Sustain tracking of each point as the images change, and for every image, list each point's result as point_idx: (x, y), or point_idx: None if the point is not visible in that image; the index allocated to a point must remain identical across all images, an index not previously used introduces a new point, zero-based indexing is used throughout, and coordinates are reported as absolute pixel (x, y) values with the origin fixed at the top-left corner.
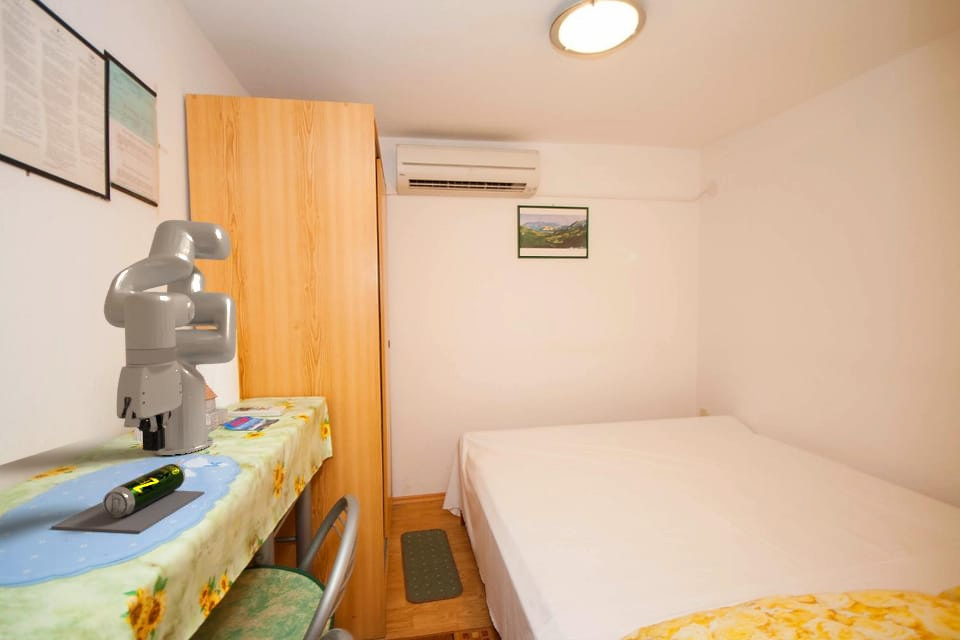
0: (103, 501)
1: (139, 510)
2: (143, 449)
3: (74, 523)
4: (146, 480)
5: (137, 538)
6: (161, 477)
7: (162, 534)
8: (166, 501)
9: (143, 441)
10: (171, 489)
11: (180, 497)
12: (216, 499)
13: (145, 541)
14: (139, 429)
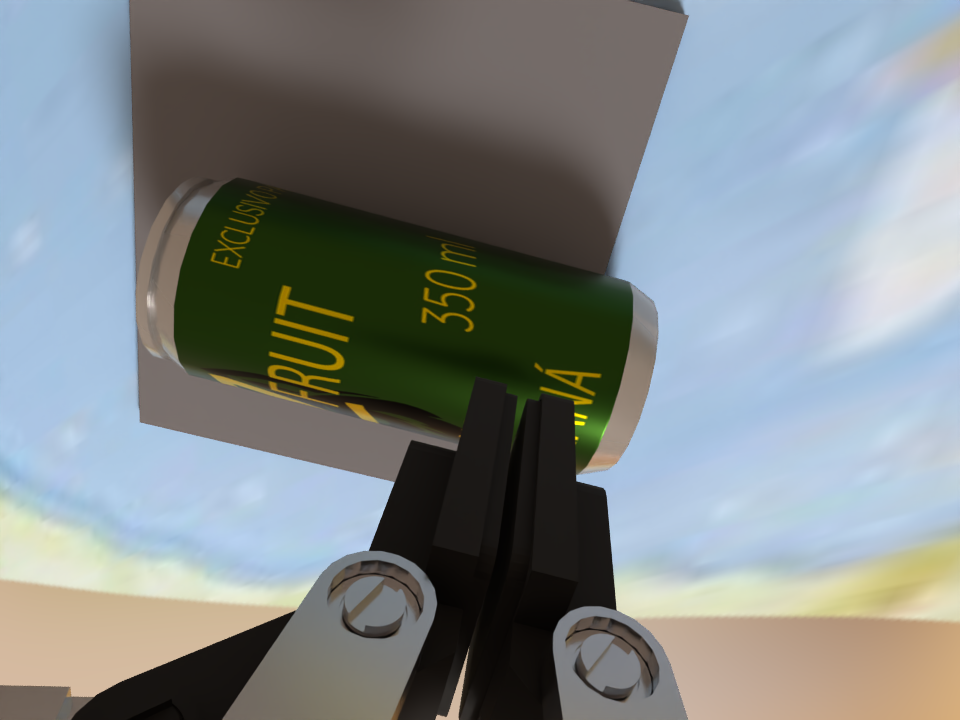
0: (183, 186)
1: None
2: (478, 378)
3: (174, 16)
4: (321, 397)
5: (109, 428)
6: (417, 433)
7: (148, 501)
8: None
9: (396, 480)
10: None
11: None
12: None
13: (94, 468)
14: (318, 588)
